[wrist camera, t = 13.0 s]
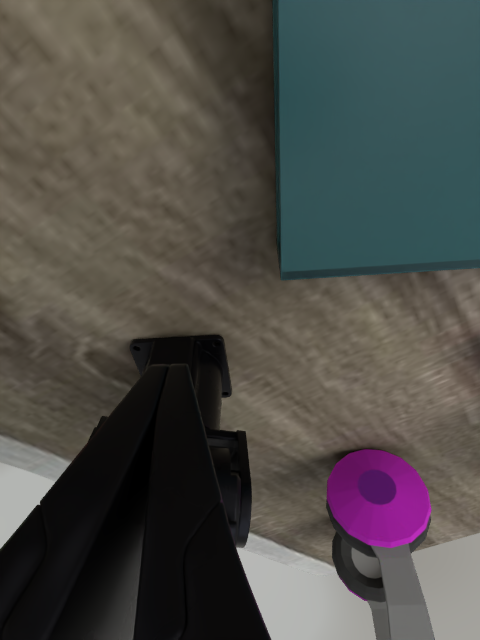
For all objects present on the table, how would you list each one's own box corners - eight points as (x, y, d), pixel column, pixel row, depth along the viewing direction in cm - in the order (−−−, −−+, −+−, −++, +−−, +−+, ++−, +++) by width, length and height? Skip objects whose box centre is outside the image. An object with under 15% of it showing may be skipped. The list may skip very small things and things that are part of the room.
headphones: (396, 521, 48) (466, 764, 33) (326, 526, 49) (363, 763, 34) (414, 436, 34) (546, 785, 19) (317, 445, 35) (370, 781, 20)
